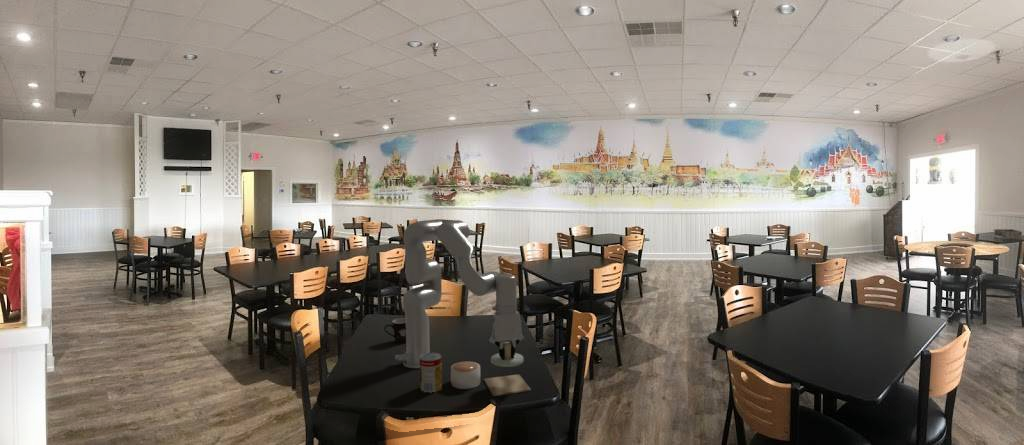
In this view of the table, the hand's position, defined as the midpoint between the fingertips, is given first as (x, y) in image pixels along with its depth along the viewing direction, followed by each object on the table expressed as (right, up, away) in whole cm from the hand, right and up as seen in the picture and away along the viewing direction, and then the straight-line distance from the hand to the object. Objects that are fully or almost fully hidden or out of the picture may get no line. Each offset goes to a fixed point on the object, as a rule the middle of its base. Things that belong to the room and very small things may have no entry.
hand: (507, 357), depth 175 cm
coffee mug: (-52, -7, +50) cm, 72 cm away
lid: (0, -1, 0) cm, 1 cm away
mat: (0, -11, +1) cm, 11 cm away
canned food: (-28, -11, -1) cm, 30 cm away
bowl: (-16, -11, +4) cm, 19 cm away
